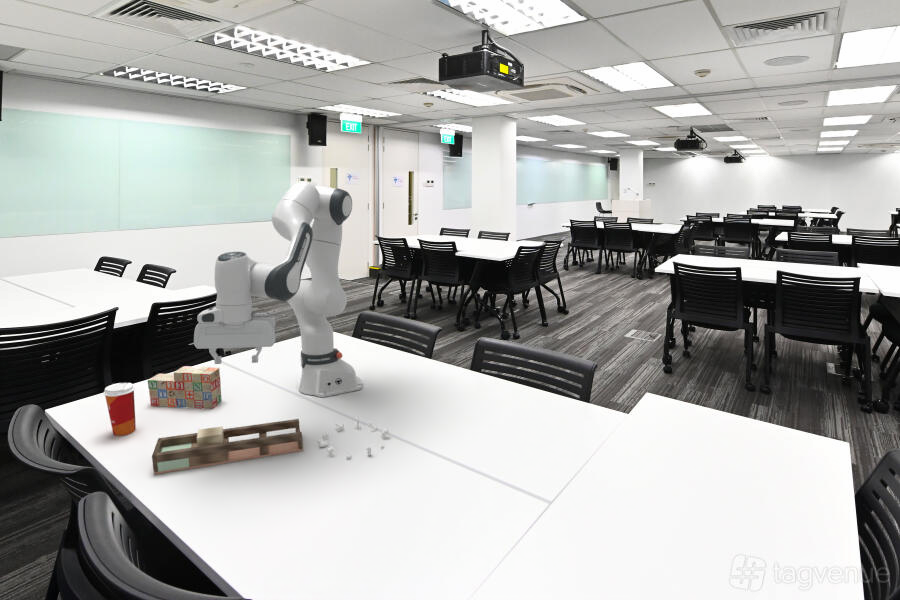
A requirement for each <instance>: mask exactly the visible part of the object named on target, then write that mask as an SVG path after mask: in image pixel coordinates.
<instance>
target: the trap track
mask: <svg viewBox="0 0 900 600" xmlns="http://www.w3.org/2000/svg"><path fill="white" fill-rule="evenodd" d="M291 429H295V432H288V433H283V434H275V435H267V433H270V432H277V431H282V430H291ZM302 433H303V432H302V431H301V429H300V419H299V418H295V419H294V418H293V419H287V420H280V421H273V422H265V423H258V424H251V425H244V426H235V427H230V428H223V434H224V443H219V444H213V445H206V446H199V447H197V434H198V432H195V433H194V432H193V433H185V434H177V435H173V436H165V437H158V439H157V440H156V443H155V444H156V445H155V447H154V449H153V451H152V452H153V453H152V455H151V460H152V468H153V475H159V474H165V473H171V472H177V471H182V470H188V469H189V470H190V469H196V468H202V467H209V466H215V465H221V464H227V463H233V462H240V461H246V460H252V459H253V460H254V459H259V458H265V457H269V456H270V457H271V456H276V455H284V454H290V453H291V454H292V453H296V452H302V451H304V450H303V434H302ZM257 434H258V437H254V438H249V439H247V438H246V439H241V440H234V441H233V440H232V441H230V439H229V438H235V437H241V436H248V435H257Z"/></svg>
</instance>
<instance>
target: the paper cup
mask: <svg viewBox="0 0 900 600" xmlns="http://www.w3.org/2000/svg"><path fill="white" fill-rule="evenodd" d="M135 389H136V388H135V386H134V384H133V383H131V382H118V383H114V384H111V385H108V386H106V387H105V388H104V391H103V395H104V396H105V402H106V405H107V411H108V416H109V420H110V425H111V429H112V433H113V435H114V436H116V437H117V436H118V437H122V436H123V437H124V436H127V435H130V434H133V433H135V431H136V430H137V429H136V428H137V427H136V426H137V425H136V406H135Z"/></svg>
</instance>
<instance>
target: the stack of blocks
mask: <svg viewBox="0 0 900 600" xmlns="http://www.w3.org/2000/svg"><path fill="white" fill-rule="evenodd" d="M220 374H221V373H220V367H210V366H189V365H187V366H186V365H185V366H182V367H180V368H178V369H177V370H175V371H173V374H172V373H157V374H156V375H154V376H152V377H151V378H149V379H147V384H148V392H149V402H150V406H151V407H162V406H166V407H167V408H183V407H188V408H187V409H189V408H190V409H202V408H204V409H206V410H213V409H215V408H216V407H217V406H218V405H219V404H220V403H222V402H223V401H222V400H223V399H222V387H221V384H222V383H221V375H220ZM204 409H203V410H204Z"/></svg>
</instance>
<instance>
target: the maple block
mask: <svg viewBox="0 0 900 600" xmlns="http://www.w3.org/2000/svg"><path fill="white" fill-rule="evenodd" d="M223 429H224V426H223V425H222V426H215V427H209V428H202V429H198V431H197V433H198V434H197V447H199V446H206V445H213V444H219V443H224V434H223Z"/></svg>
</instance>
